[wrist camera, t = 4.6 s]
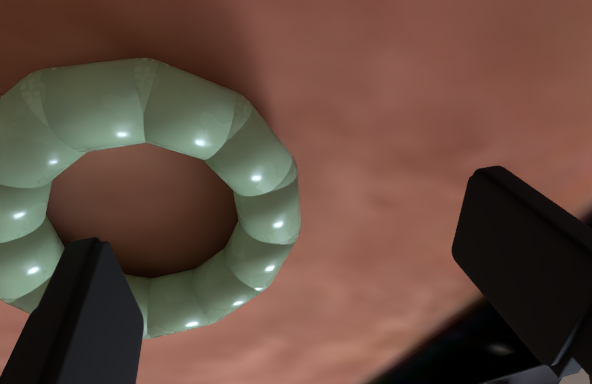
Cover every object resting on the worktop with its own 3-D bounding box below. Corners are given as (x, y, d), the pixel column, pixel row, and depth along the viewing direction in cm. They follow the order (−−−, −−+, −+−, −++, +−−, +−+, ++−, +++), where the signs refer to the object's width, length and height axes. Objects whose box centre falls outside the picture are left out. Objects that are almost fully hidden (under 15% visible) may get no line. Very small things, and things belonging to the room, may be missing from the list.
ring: (58, 327, 13) (39, 378, 12) (-114, 78, 8) (-190, 107, 7) (298, 273, 15) (311, 311, 13) (279, 34, 10) (297, 49, 8)
